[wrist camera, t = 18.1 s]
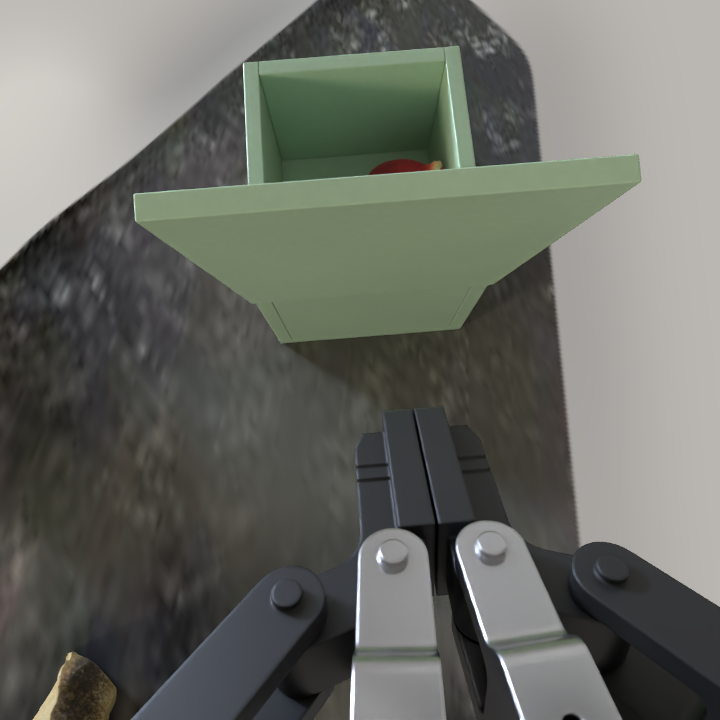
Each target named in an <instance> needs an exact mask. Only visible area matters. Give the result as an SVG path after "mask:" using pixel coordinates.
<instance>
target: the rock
mask: <svg viewBox="0 0 720 720" xmlns="http://www.w3.org/2000/svg"><path fill="white" fill-rule="evenodd" d="M116 696H117V690H116V687H115V686H114V685H113V683H112V682H111V681H110V679H109V678H108V677H107V676H106V674H105V673H104V672H103V671H102V670H101V669H100V668H99V667H98V666H97V665H96V664H95V663H94V662H92V661H91V660H89V659H88V658H85V657H83V656H80V655H78V654H77V653H76V652H74V651H73V652H71V653H69V654H68V655H67V657H66V662H65V664H64V665H63V666H62V667H61V669H60V671H59V674H58V679H57V682H56V684H55V685H54V687H53V689H52V691H51V692H50V694H49V695H48V697H47V699H46V700H45V702H44V703H43V705H42V706H41V707H40V709H39V712H38V713H37V714H36V716H35V717H34V719H33V720H109V714H110V712H111V710H112V709H113V707H114V704H115V701H116Z"/></svg>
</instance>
